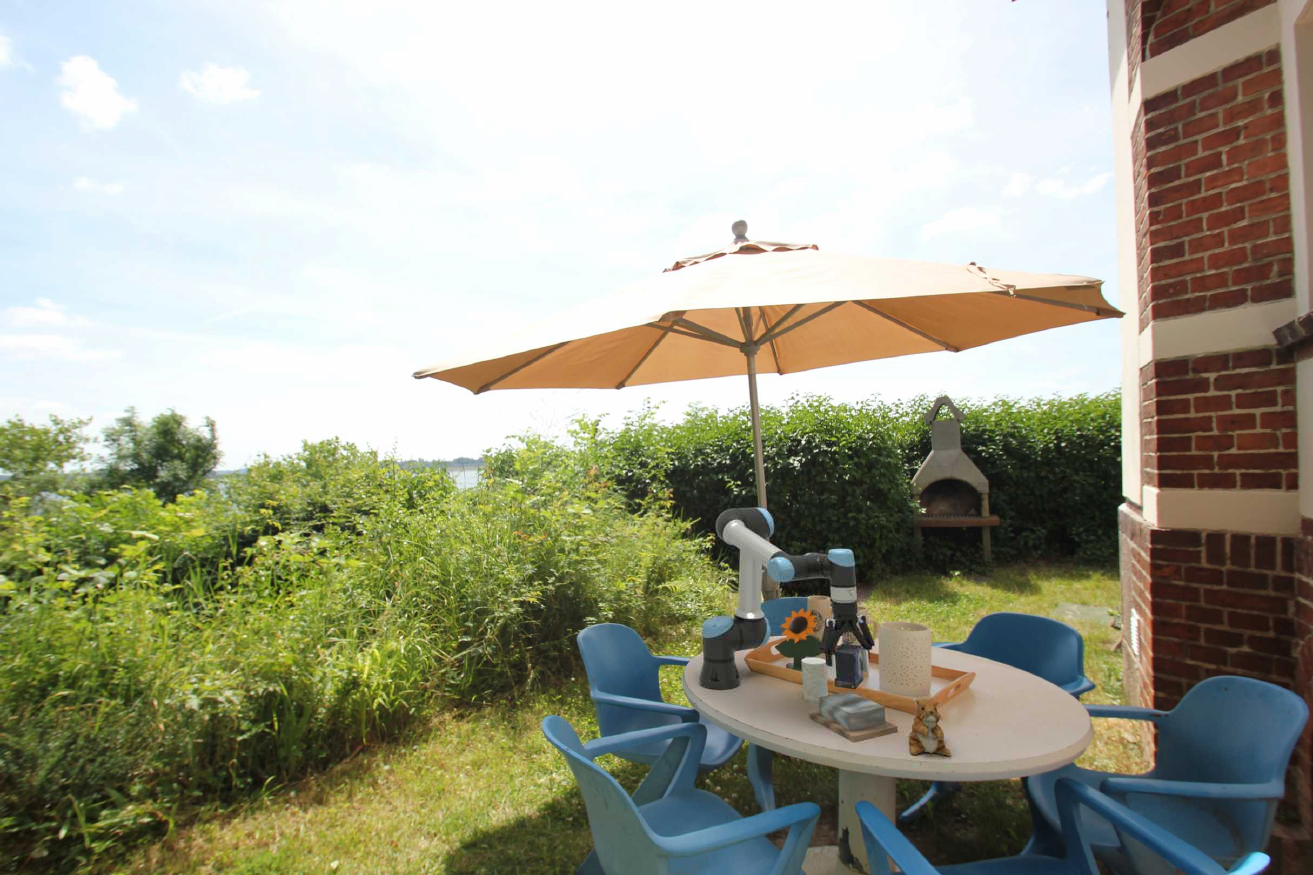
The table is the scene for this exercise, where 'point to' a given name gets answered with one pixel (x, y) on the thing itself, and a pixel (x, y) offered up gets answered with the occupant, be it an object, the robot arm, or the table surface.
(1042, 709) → the table surface
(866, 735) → the building base
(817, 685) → the cup
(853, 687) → the small box
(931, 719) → the stuffed squirrel
